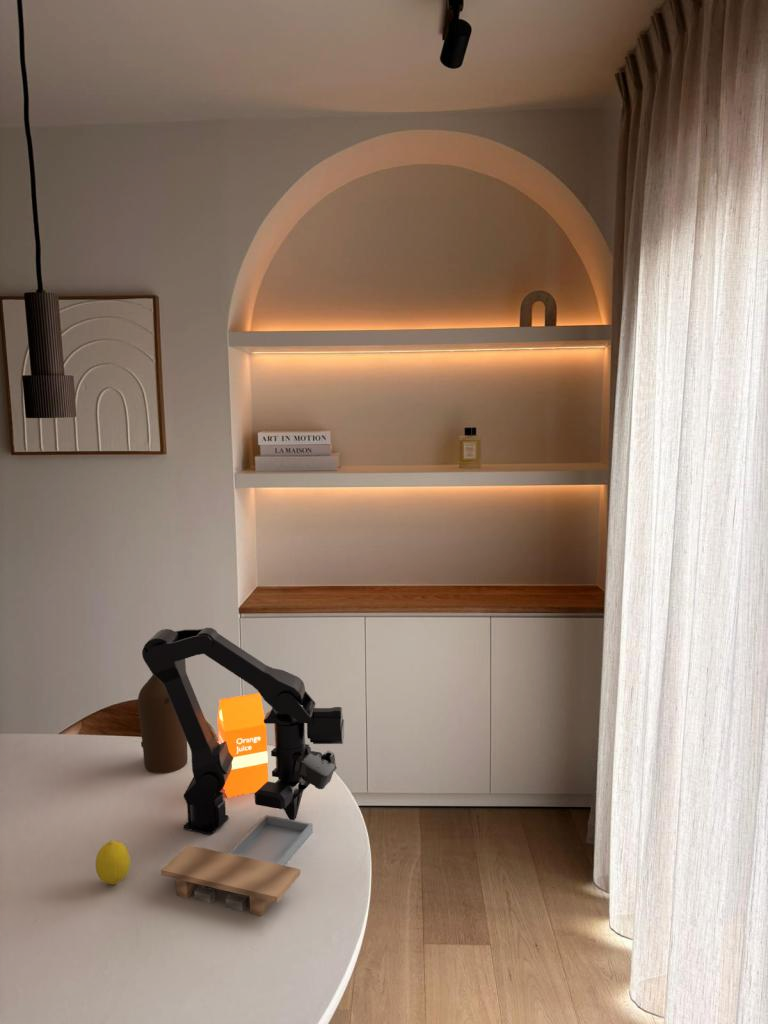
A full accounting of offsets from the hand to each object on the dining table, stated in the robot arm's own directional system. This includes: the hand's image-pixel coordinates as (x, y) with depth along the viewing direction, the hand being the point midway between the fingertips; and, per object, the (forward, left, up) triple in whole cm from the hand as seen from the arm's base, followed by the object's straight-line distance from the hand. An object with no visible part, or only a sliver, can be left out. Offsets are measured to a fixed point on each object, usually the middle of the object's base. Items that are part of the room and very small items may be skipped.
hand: (292, 819), depth 157 cm
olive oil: (-39, +13, -1) cm, 41 cm away
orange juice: (-17, +10, -1) cm, 20 cm away
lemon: (-20, -28, -1) cm, 34 cm away
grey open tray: (0, -9, -1) cm, 9 cm away
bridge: (0, -23, -1) cm, 23 cm away
